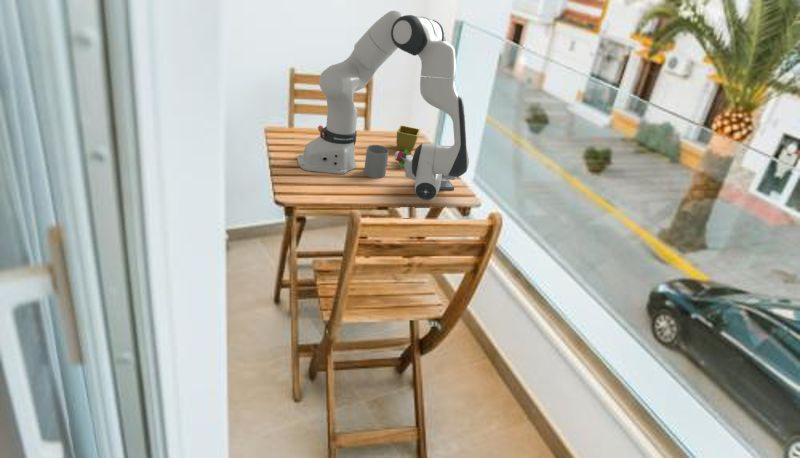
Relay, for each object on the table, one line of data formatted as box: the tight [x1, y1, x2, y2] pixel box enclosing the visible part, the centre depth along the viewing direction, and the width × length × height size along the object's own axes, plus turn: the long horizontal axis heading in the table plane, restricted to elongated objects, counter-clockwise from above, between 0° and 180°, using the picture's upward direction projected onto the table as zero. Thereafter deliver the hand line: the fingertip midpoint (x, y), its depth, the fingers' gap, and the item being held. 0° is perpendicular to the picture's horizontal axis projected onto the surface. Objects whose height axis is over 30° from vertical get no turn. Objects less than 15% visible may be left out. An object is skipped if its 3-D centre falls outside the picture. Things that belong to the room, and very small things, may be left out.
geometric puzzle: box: [394, 149, 412, 168], centre depth 209 cm, size 7×7×8 cm
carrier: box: [439, 178, 455, 191], centre depth 202 cm, size 12×17×4 cm
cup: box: [363, 144, 390, 179], centre depth 197 cm, size 8×8×10 cm
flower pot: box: [396, 125, 421, 153], centre depth 223 cm, size 9×9×9 cm
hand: (433, 159), depth 196 cm, fingers closed on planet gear, 3 cm apart
